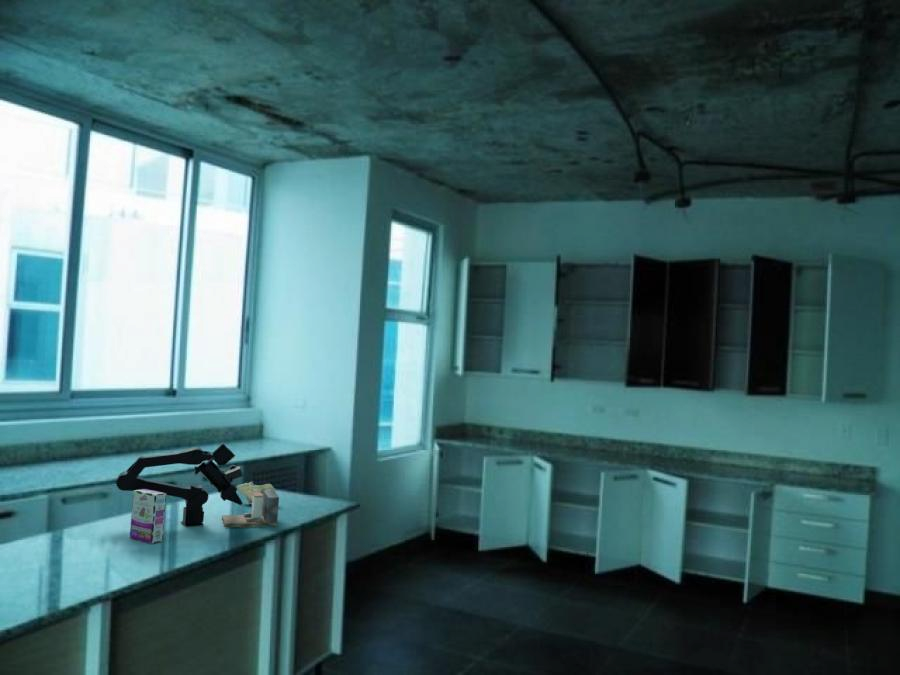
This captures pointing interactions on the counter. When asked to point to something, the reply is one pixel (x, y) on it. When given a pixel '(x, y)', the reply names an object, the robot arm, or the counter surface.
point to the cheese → (253, 490)
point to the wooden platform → (267, 518)
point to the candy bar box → (148, 516)
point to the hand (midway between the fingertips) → (241, 504)
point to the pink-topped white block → (257, 505)
